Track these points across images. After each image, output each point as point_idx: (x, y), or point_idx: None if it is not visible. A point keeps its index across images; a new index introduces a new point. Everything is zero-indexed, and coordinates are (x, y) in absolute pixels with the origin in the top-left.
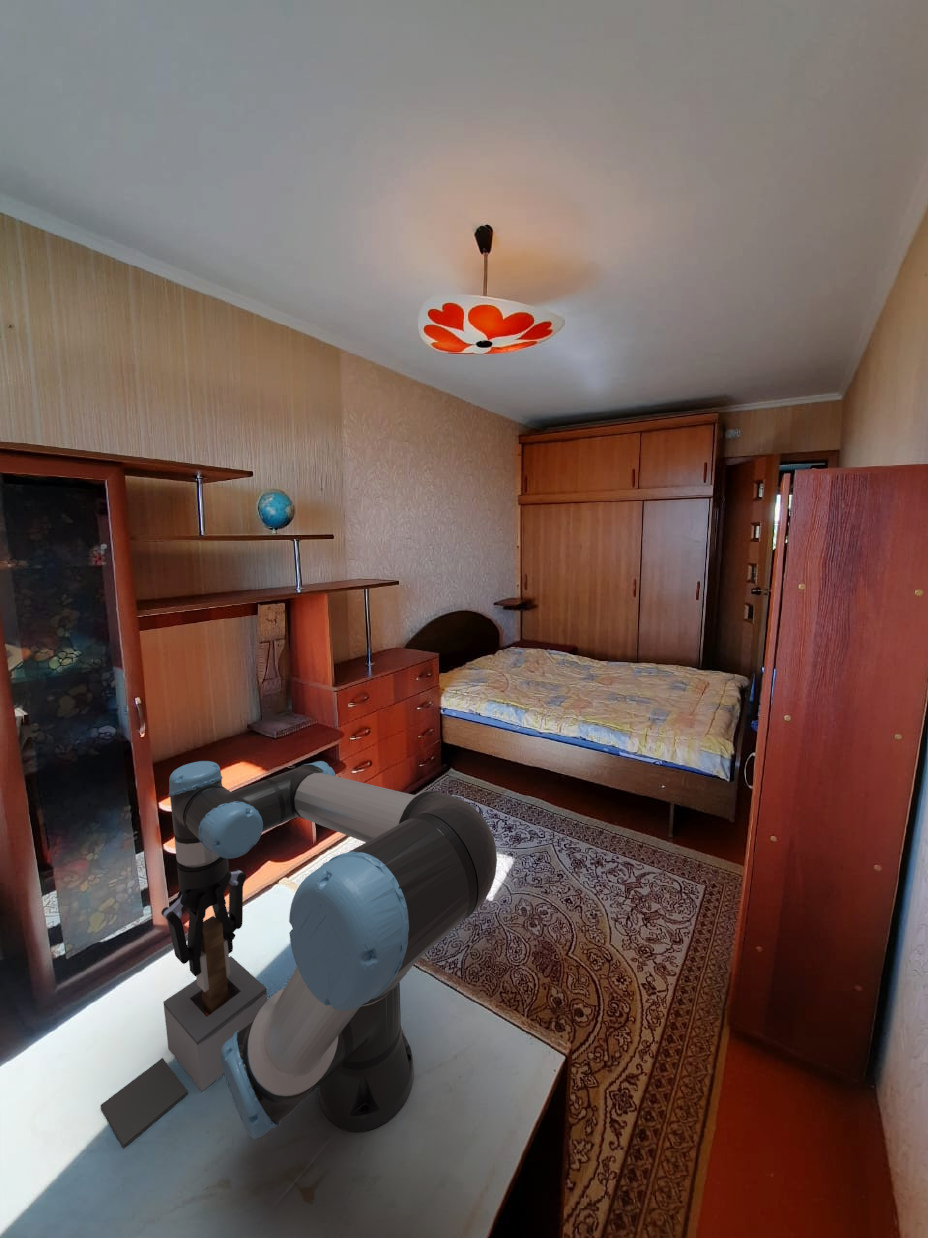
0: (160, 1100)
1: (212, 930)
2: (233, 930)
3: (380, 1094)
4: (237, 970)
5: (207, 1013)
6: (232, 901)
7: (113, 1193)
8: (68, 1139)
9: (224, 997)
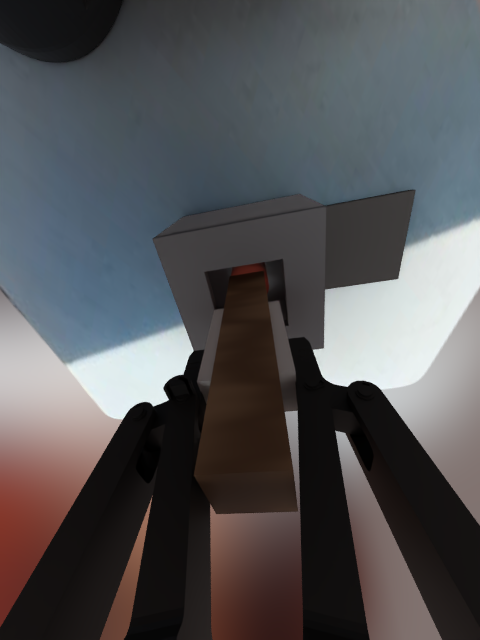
0: (349, 224)
1: (247, 464)
2: (165, 406)
3: None
4: (196, 326)
5: (266, 286)
6: (105, 565)
7: (456, 124)
8: (435, 264)
9: (236, 285)
